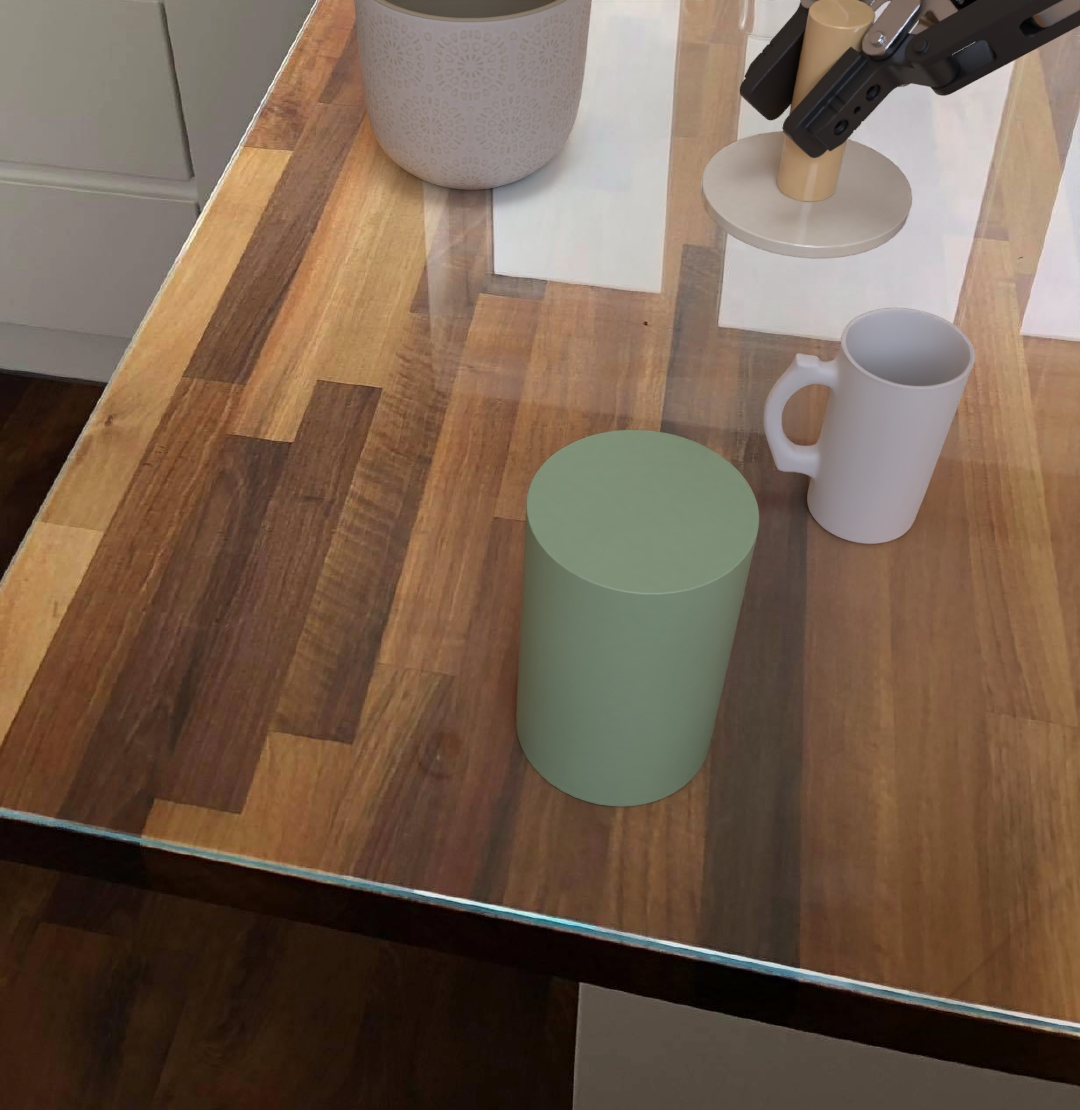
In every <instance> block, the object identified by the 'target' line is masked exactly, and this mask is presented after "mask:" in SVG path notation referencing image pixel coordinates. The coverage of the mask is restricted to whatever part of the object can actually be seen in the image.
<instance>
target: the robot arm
mask: <svg viewBox="0 0 1080 1110" xmlns="http://www.w3.org/2000/svg"><path fill="white" fill-rule="evenodd" d="M816 1H819V0H799V5H798V7H797V9H796V10H795V12H794V13H793V14H792V16H791V17H790V18H788V20H787V21H786V22H785V24H784V25H783V26H782V27H781V28H780V29H779V31H777V33H776V34H775V35H774V36H773V38H772V39H771V40H769V43H768V44H766V46H765V47H764V48H763V49H762V50H761V52H760V53H759V54H758V55H757V56H756V57H755V58H754V59H753V60H752V62H751V63H750V64H749V66H748V68H747V70H746V72H745V74H744V79H743V80H742V81H741V84H740V87H739V94H740V96H741V97H742V98H743V100H745V101H746V102H747V103H748V104H749V105H750V106H751V107H752V108H753V109H755V111H756V112H757V113H758V114H760V115H761V116H762V117H763V118H765V119H766V120H767V121H774V120H776V119H778V118H780V117H782V115H783V114H784V112H785V111H786V110H787V109H788V108H790V107H791V102H792V96H793V91H794V86H795V80H796V75H797V70H798V65H799V59H800V54H801V49H802V43H803V38H804V33H805V27H806V22H807V17H808V12H809V8H810V7H811V5H812V4H813V3H815V2H816ZM859 1H861V2H864V3H866V4H867V5H869V6H870V7H871V8H872V9H873V10H874V12H877V10H879V9H880V8H881V7H882V6H883V5H884V4H885V3H887V2H889V3H888V4H887V6H886V7H885V8H884V9H883V11H882V12H881V13H880V14H879V16H878V17H877V19H875V21H874V24H873V25H872V27H871V28H870V29H869V31H868V32H867V33H866V35H865V36H864V38H863V41H862V49H863V50H862V51H861V52H860V53H859V52H857V51H856V50H855V49H853V48H852V47H850V48H849V49H848V50H847V51H846V52H845V53H844V54H843V55H842V57H841V58H840V59H839V60H838V61H837V62H836V63H835V64H834V65H833V67H832V68H831V69H830V70H829V71H828V72H827V73H826V74H825V76H824V77H823V78H822V79H821V80H820V81H819V82H818V83H817V84H816V86H815V87H814V88H813V89H812V90H811V91H810V92H809V93H808V94H807V96H806V97H805V98H804V99H803V100H802V101H801V102H800V103H799V104H798V106H797V107H796V108H795V109H794V110H793V111H792V112H791V113H790V115H789V114H788V116H786V117H785V120H784V121H783V124H782V131H783V132H784V133H785V134H786V135H787V136H788V137H789V138H790V139H791V140H792V141H793V142H794V143H795V144H796V145H797V146H798V147H799V148H800V149H802V150H803V151H804V152H805V153H806V154H807V155H809V156H810V157H811V158H817V157H820V156H821V155H823V154H824V153H825V152H826V151H827V150H829V151H832V150H834V149H835V148H837V147H838V146H840V145H842V144H843V143H844V142H845V141H846V140H847V139H849V138H850V137H851V135H853V134H854V131H856V130H857V129H858V128H860V126H861V125H862V123H863V122H864V121H865V120H866V119H867V118H869V116H870V115H871V114H872V113H873V112H874V111H875V110H876V109H877V108H878V106H880V105H881V104H882V102H883V101H884V100H885V99H886V98H887V97H888V96H889V94H891V92H893V91H894V90H895V89H897V88H904V87H907V86H909V85H918V86H921V87H922V86H924V87H929V88H930V89H931V90H932V91H933V92H934V94H936V95H938V96H942V97H944V96H945V97H946V96H949V95H952V94H954V93H955V92H957V91H959V90H961V89H964V88H965V87H967V86H969V85H972V84H973V83H975V82H976V81H978V80H980V79H982V78H984V77H986V76H988V75H990V74H992V73H994V72H995V71H997V70H999V69H1001V68H1003V67H1004V66H1007V65H1009V64H1011V63H1012V62H1014V61H1016V60H1018V59H1020V58H1022V57H1023V56H1026V55H1027V54H1029V53H1031V52H1033V51H1035V50H1037V49H1039V48H1040V47H1042V46H1045V45H1046V44H1048V43H1050V42H1052V41H1054V40H1055V39H1057V38H1059V37H1061V36H1063V35H1065V34H1067V33H1069V32H1071V31H1072V30H1074V29H1077V28H1078V27H1080V0H859Z"/></svg>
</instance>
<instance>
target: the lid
mask: <svg viewBox="0 0 1080 1110" xmlns="http://www.w3.org/2000/svg"><path fill="white" fill-rule="evenodd" d="M875 12H876V11H875ZM875 12H874V10H873V9H872V8H871V7H870V6H869V5H867V4H866V3H864V2H861V1H859V0H819V1H816V2H815V3H813V4H812V5H811V7H810V8H809V12H808V17H807V22H806V27H805V33H804V38H803V43H802V49H801V54H800V59H799V65H798V70H797V75H796V80H795V86H794V91H793V96H792V102H791V105H790V106H789V112H788V116H789V115H790V113H791V112H792V111H793V110H794V109H795V108H796V107H797V106H798V104H799V103H800V102H801V101H802V100H803V99H804V98H805V97H806V96H807V94H808V93H809V92H810V91H811V90H812V89H813V88H814V87H815V86H816V84H817V83H818V82H819V81H820V80H821V79H822V78H823V77H824V76H825V74H826V73H827V72H828V71H829V70H830V69H831V68H832V67H833V65H834V64H835V63H836V62H837V61H838V60H839V59H840V58H841V57H842V55H843V54H844V53H845V52H846V51H847V50H848V49H849V48H850V47H852V48H853V49H855V50H856V51H857V52H859V53H860V52H861V51H862V50H863V49H862V41H863V38H864V36H865V35H866V33H867V32H868V31H869V29H870V28H871V27H872V25H873V24H874V23H875V21H876V13H875ZM699 193H700V194H699V195H700V199H701V203H702V205H703V207H704V210H705V212H706V213H707V215H708V217H709V218H710V219H711V220H712V221H713V222H714V223H715V224H716V225H717V226H718V227H719V228H720V229H722V230H723V231H724V232H725V233H726V234H728V235H730V236H731V237H733V238H735V239H736V240H738V241H740V242H742V243H743V244H747V245H748V246H751V247H753V248H756V249H759V250H762V251H765V252H768V253H771V254H772V253H773V254H776V255H781V256H787V257H792V258H800V259H801V258H802V259H816V260H817V259H836V258H845V257H850V256H856V255H860V254H863V253H867V252H869V251H871V250H875V249H877V248H879V247H881V246H883V245H884V244H887V243H888V242H889V241H891V240H892V239H893V238H895V237H896V236H897V235H898V234H899V233H900V231H902V230H903V228H904V227H905V225H906V223H907V222H908V219H909V216H910V213H911V209H912V205H913V191H912V187H911V185H910V181H909V180H908V178H907V176H906V175H905V173H904V172H903V171H902V169H900V167H899V166H898V165H897V164H895V162H894V161H892V160H891V159H890V158H888V157H887V156H885V155H884V154H883V153H881V152H880V151H877V150H876V149H874V148H872V147H869V146H868V145H866V144H863V143H861V142H858V141H855V140H852V139H849V138H848V139H847V140H846V141H845V142H844V143H843V144H842V145H840V146H838V147H837V148H835V149H834V150H832V151H829V150H827V151H826V152H825V153H824V154H823V155H821V156H820V157H817V158H811V157H810V156H809V155H807V154H806V153H805V152H804V151H803V150H802V149H800V148H799V147H798V146H797V145H796V144H795V143H794V142H793V141H792V140H791V139H790V138H789V137H788V136H787V135H786V134H785V133H784V132H783V130H778V131H770V132H763V133H758V134H754V135H750V136H746V137H744V138H740V139H738V140H736V141H733V142H732V143H729V144H727V145H725V146H724V147H723V148H721V149H720V150H719V151H717V152H716V153H715V154H714V155H713V156H712V157H711V158H710V159H709V161H708V162H707V163H706V165H705V167H704V169H703V172H702V175H701V181H700V190H699Z"/></svg>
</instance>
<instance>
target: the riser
mask: <svg viewBox="0 0 1080 1110" xmlns="http://www.w3.org/2000/svg"><path fill="white" fill-rule="evenodd" d="M524 519H525V522H524V540H523V541H524V543H523V562H522V565H523V566H522V583H521V605H520V625H519V648H518V649H519V650H518V667H517V689H516V690H517V691H516V709H515V710H516V712H515V729H516V733H517V739H518V741H519V744H520V747H521V750H522V752H523V754H524V755H525V757H526V759H527V760H528V762H529V763H530V765H531V766H532V767H533V768H534V770H535V771H536V772H537V773H538V774H539V775H540V776H541V777H542V778H543V779H544V780H545V781H547V782H548V783H549V784H550V785H552V786H553V787H555V788H556V789H558V790H559V791H560V792H563V793H565V794H567V795H568V796H571V797H573V798H576V799H578V800H581V801H584V802H585V803H586V802H587V803H591V804H595V805H599V806H608V807H635V806H642V805H646V804H651V803H654V802H657V801H660V800H663V799H665V798H667V797H669V796H671V795H674V794H675V793H676V792H678V791H680V790H681V789H683V788H684V787H685V786H686V785H687V784H689V782H690V781H692V780H693V779H694V777H695V776H696V775H697V774H698V773H699V772H700V770H701V769H702V767H703V765H704V763H705V762H706V759H707V756H708V754H709V751H710V747H711V742H712V737H713V734H714V730H715V724H716V721H717V715H718V711H719V707H720V703H721V698H722V694H723V690H724V689H723V688H724V684H725V680H726V676H727V671H728V667H729V663H730V658H731V654H732V649H733V644H734V640H735V637H736V633H737V632H736V631H737V627H738V622H739V619H740V614H741V609H742V604H743V600H744V595H745V591H746V587H747V583H748V577H749V574H750V568H751V564H752V560H753V556H754V551H755V547H756V542H757V538H758V533H759V529H760V510H759V506H758V502H757V499H756V496H755V493H754V491H753V489H752V488H751V486H750V484H749V481H747V480H746V478H745V477H744V476H743V475H742V473H741V472H740V471H739V470H738V469H737V468H736V467H735V466H734V465H733V464H732V463H731V462H730V461H728V460H727V459H726V458H725V457H723V456H722V455H721V454H719V453H718V452H716V451H715V450H713V449H711V448H709V447H708V446H705V445H703V444H701V443H699V442H697V441H694V440H691V439H689V438H686V437H684V436H680V435H676V434H673V433H668V432H663V431H658V430H646V429H619V430H608V431H604V432H599V433H595V434H592V435H588V436H584V437H582V438H580V439H577V440H575V441H572V442H570V443H569V444H567V445H565V446H563V447H562V448H560V449H559V450H557V451H556V452H555V453H553V454H552V455H550V457H549V458H547V459H546V460H545V461H544V462H543V463H542V464H541V466H540V467H539V468H538V469H537V471H536V473H535V474H534V476H533V478H532V479H531V481H530V484H529V487H528V490H527V495H526V501H525V518H524Z"/></svg>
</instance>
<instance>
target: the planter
mask: <svg viewBox="0 0 1080 1110" xmlns="http://www.w3.org/2000/svg"><path fill="white" fill-rule="evenodd" d="M592 3H593V0H353V4H354V6H353V7H354V15H355V28H356V36H357V38H356V39H357V51H358V60H359V69H360V71H359V72H360V80H361V86H362V87H361V88H362V94H363V101H364V105H365V109H366V114H367V117H368V122H369V126H370V129H371V131H372V133H373V135H374V138H375V139H376V142H377V144H378V145H379V146H380V148H381V149H382V150H383V152H384V153H385V154H386V155H387V157H388V158H390V159H391V160H392V161H393V162H394V163H395V165H398V166H399V167H400V168H401V169H403V170H404V171H405V172H407V173H409V174H410V175H412V176H414V177H416V178H418V179H420V180H422V181H424V182H427V183H430V184H433V185H435V186H439V187H442V188H449V189H454V190H467V191H468V190H470V191H472V190H473V191H476V190H486V189H487V190H488V189H493V188H494V189H495V188H499V187H502V186H507V185H509V184H512V183H515V182H517V181H520V180H522V179H524V178H526V177H529V176H530V175H532V174H533V173H535V172H536V171H538V170H539V169H541V168H543V167H544V166H545V165H546V164H548V163H549V161H551V160H552V159H554V157H555V156H557V154H558V153H559V152H560V151H561V150H562V148H563V147H564V145H565V144H566V142H567V140H568V139H569V138H570V135H571V133H572V131H573V128H574V126H575V122H576V120H577V117H578V113H579V107H580V103H581V98H582V93H583V85H584V77H585V70H586V62H587V54H588V44H589V43H588V42H589V32H590V31H589V30H590V24H591V23H590V22H591V13H592Z"/></svg>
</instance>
